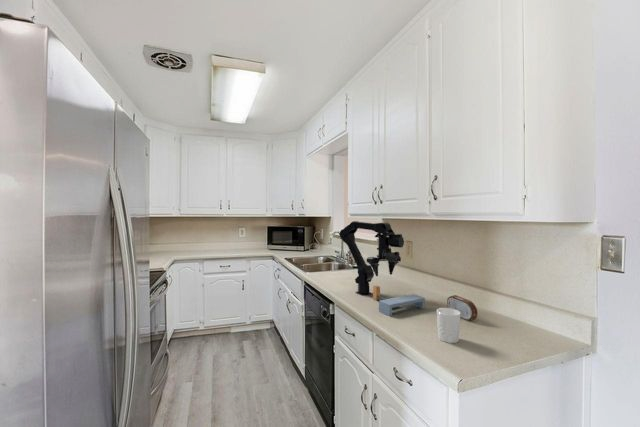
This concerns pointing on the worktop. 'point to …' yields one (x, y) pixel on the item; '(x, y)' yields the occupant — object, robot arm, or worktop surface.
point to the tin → (463, 307)
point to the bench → (400, 303)
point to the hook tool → (377, 294)
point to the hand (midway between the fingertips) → (383, 275)
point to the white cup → (448, 324)
